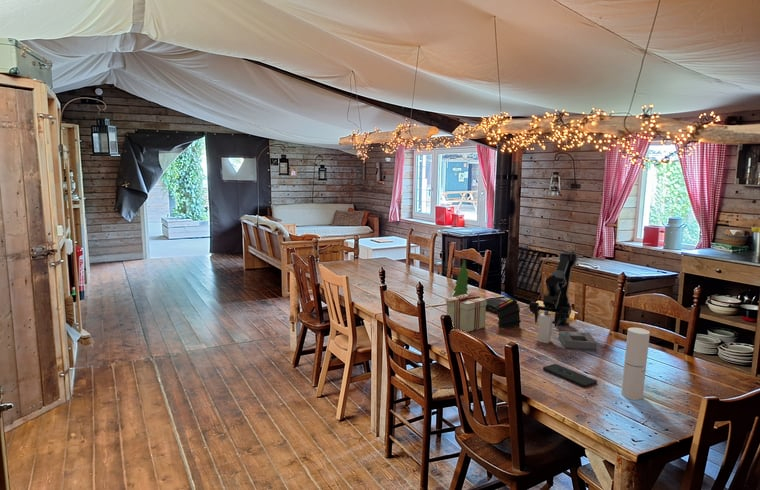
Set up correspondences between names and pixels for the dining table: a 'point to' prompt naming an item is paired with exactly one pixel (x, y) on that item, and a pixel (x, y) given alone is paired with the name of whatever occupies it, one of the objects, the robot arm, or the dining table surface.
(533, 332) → the dining table surface
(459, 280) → the decorative tree
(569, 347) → the block
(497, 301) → the portable cd player
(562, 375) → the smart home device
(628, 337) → the cylindrical container
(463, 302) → the gift box
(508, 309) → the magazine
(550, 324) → the white upright cylinder
